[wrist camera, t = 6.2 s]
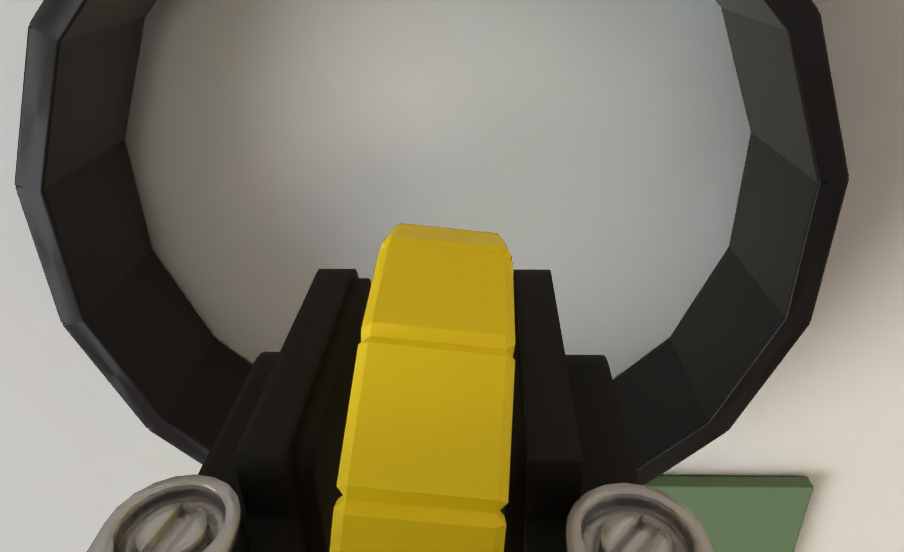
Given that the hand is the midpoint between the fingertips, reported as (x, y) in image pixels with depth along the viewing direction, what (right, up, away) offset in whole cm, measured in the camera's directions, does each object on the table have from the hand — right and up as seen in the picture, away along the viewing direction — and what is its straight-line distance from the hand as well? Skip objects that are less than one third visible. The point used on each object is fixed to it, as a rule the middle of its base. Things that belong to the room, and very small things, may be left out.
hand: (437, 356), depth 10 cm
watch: (0, 0, 0) cm, 1 cm away
